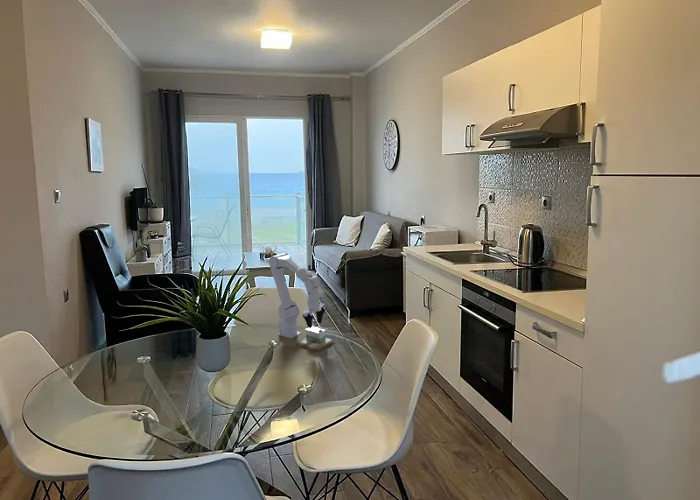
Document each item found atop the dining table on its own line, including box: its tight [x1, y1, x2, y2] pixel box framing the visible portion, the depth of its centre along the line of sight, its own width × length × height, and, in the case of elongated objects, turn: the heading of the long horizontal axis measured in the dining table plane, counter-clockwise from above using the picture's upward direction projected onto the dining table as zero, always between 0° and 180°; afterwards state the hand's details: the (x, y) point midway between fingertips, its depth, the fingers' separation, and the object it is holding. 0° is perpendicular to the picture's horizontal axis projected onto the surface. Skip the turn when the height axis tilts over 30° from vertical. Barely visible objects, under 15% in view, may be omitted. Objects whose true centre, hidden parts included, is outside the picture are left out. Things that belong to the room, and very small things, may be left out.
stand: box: [296, 337, 335, 353], centre depth 262 cm, size 14×13×2 cm
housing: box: [305, 326, 326, 344], centre depth 261 cm, size 4×9×6 cm, turn 54°
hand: (314, 325), depth 260 cm, fingers open, 7 cm apart
